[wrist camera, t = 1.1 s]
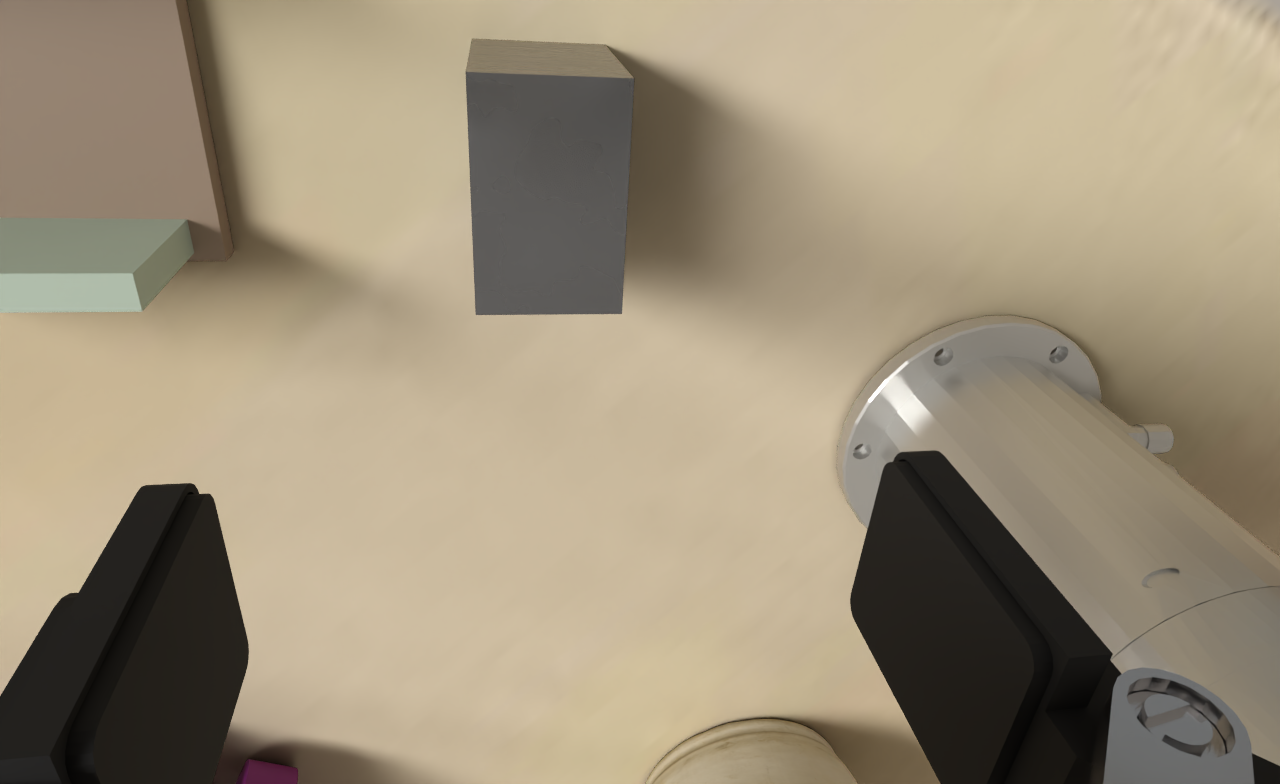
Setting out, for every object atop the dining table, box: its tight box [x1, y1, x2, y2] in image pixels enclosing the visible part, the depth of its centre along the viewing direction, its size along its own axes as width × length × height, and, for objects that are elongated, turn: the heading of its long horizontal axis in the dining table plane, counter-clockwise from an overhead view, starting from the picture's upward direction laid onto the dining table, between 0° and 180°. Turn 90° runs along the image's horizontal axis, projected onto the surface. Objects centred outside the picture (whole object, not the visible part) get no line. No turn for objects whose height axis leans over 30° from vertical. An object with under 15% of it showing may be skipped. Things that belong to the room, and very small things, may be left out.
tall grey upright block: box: [466, 39, 634, 315], centre depth 27 cm, size 4×7×7 cm, turn 177°
